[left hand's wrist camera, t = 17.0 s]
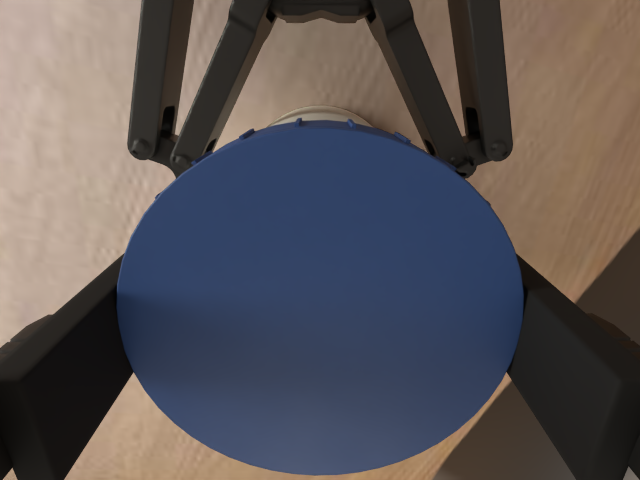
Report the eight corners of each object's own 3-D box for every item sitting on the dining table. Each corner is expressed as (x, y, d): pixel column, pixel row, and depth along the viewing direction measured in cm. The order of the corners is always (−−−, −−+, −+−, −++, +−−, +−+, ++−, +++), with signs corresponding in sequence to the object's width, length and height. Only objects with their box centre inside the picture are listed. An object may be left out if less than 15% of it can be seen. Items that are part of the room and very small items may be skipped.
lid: (190, 434, 14) (170, 488, 12) (101, 137, 10) (51, 150, 8) (482, 413, 14) (508, 465, 12) (506, 96, 10) (551, 98, 8)
